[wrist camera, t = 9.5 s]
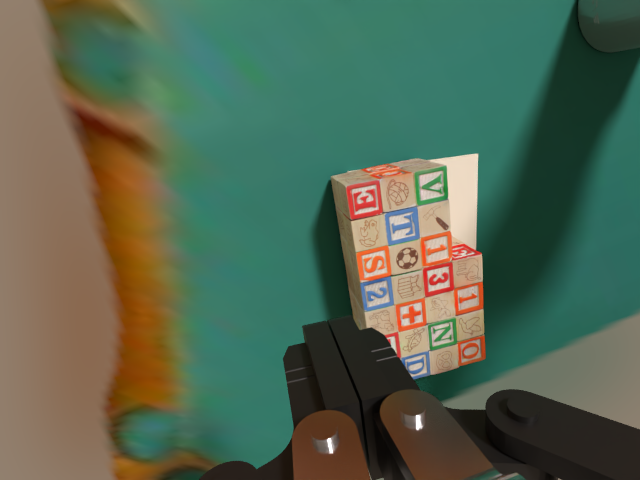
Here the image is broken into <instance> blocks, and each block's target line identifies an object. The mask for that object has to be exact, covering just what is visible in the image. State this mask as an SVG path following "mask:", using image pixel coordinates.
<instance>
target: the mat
mask: <svg viewBox="0 0 640 480" xmlns="http://www.w3.org/2000/svg"><path fill="white" fill-rule="evenodd" d="M428 161H430V162H435V163H439V164H444V165H446V166H447V180H448V199H449V204H450V220H451V234H452V236H453V237H455V238H457V239H458V240H460V241H462V242H463V243H465V244H466V245H468V246H469V247H471V248H473V249H474V250H476V224H477V180H478V154H469V155H462V156H455V157H448V158H441V159H433V160H428ZM354 171H356V170H354ZM348 172H352V171H347V173H348Z"/></svg>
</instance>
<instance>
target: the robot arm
mask: <svg viewBox="0 0 640 480" xmlns="http://www.w3.org/2000/svg"><path fill="white" fill-rule="evenodd" d="M578 20H579V26H580V29H581V31H582V34H583V36H584V37H585V39H586V40H587V42H588V43H589V44H590V45H591V46H592V47H593V48H595V49H597V50H599V51H601V52H608V53H611V52H619V51H624V50H629V49H635V48H640V0H579V2H578ZM302 328H303V334H304V340H305V343H301V344H297V345H292V346H288V349H287V351H286V353H285V355H284V358H283V361H284V368H285V374H286V380H287V387H288V393H289V399H290V405H291V412H292V418H293V425H294V430H293V435H292V438H291V440H290V442H289V444H288V446H287V447H286V448H285V450H284V451H283V452H282V453H281V454H280V455H278V456H277V457H276V458H275V459H273V460H272V461H270V462H268V463H267V464H265V465H263V466H262V467H260V468H258V469H256V468H255V467H254V466H253V465H251V464H249V463H247V462H243V461H230V462H226V463H223V464H220V465H218V466H216V467H214V468H212V469H211V470H209V471H208V472H207V473H205V474H204V475H203V476H202V477H201V478H200V479H199V480H370V476H371V478H372V480H376V479H379V478H384V480H558V478H560V479H562V480H640V429H637V428H634V427H631V426H628V425H625V424H622V423H619V422H616V421H613V420H610V419H607V418H604V417H601V416H599V415H596V414H592V413H590V412H587V411H584V410H581V409H578V408H575V407H572V406H569V405H566V404H563V403H560V402H557V401H554V400H552V399H549V398H546V397H543V396H539V395H536V394H534V393H531V392H527V391H523V390H514V389H513V390H512V389H509V390H502V391H499V392H496V393H494V394H493V395H491V396H490V397H489V399H488V400H487V402H486V410H459V409H451V408H447V407H444V406H443V404H442V403H441V402H440V401H439V400H438V399H437V398H436V397H434V396H433V395H431V394H429V393H426V392H424V391H421V390H420V389H419V387H418V386H417V384H416V383H415V381H414V380H413V378H412V376H411V375H410V373H409V372H408V370H407V369H406V367H405V366H404V364H403V363H402V361H401V360H400V358H399V357H398V356H397V353H396V352H395V350H394V349H393V348H392V347H391V344H390V343H389V341H388V340H387V338H386V337H385V335H384V334H382V333H380V332H379V331H377V330H375V329H374V328H372V327H370V328H366V329H362V330H359V328H358V326H357V325H356V323H355V321H354V319H353V317H352V316H351V315H348V316H344V317H339V318H335V319H330V320H327V322H326V321H322V322H317V323H313V324H308V325H304V326H302ZM368 470H369V472H368ZM369 473H370V476H369Z"/></svg>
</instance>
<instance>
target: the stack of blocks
mask: <svg viewBox="0 0 640 480" xmlns="http://www.w3.org/2000/svg"><path fill="white" fill-rule="evenodd" d="M331 183H332V189H333V195H334V201H335V205H336V212H337V218H338V225H339V231H340V234H341V243H342V249H343V255H344V260H345V267H346V273H347V279H348V286H349V294H350V300H351V306H352V310H353V318H354V321H355V323H356V325H357V326H358V328H359V330H362V329H366V328H370V327H372V328H374V329H375V330H377V331H379V332H380V333H382V334H384V335H385V337H386V338H387V340H388V341H389V343H390V344H391V347H392V348H393V349H394V350H395V352H396V353H397V356H398V357H399V358H400V360H401V361H402V363H403V364H404V366H405V367H406V369H407V370H408V372H409V373H410V375H411V376H412V378H413V380H414V379H417V378H421V377H425V376H429V375H434V374H438V373H442V372H446V371H449V370H453V369H456V368H459V366H462V365H466V364H470V363H474V362H477V361H481V360H484V359H485V357H486V355H485V336H484V311H483V282H482V281H483V269H482V253H480V252H478V251H476V250H474V249H473V248H471V247H469V246H468V245H466V244H465V243H463V242H462V241H460V240H458V239H457V238H455V237H453V236H452V234H451V220H450V204H449V199H448V180H447V166H446V165H444V164H439V163H435V162H430V161H428V160H423V159H418V158H416V159H410V160H405V161H400V162H395V163H391V164H384V165H379V166H374V167H369V168H365V169H361V170H356V171H352V172H348V173H343V174H339V175H334V176H331Z"/></svg>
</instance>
